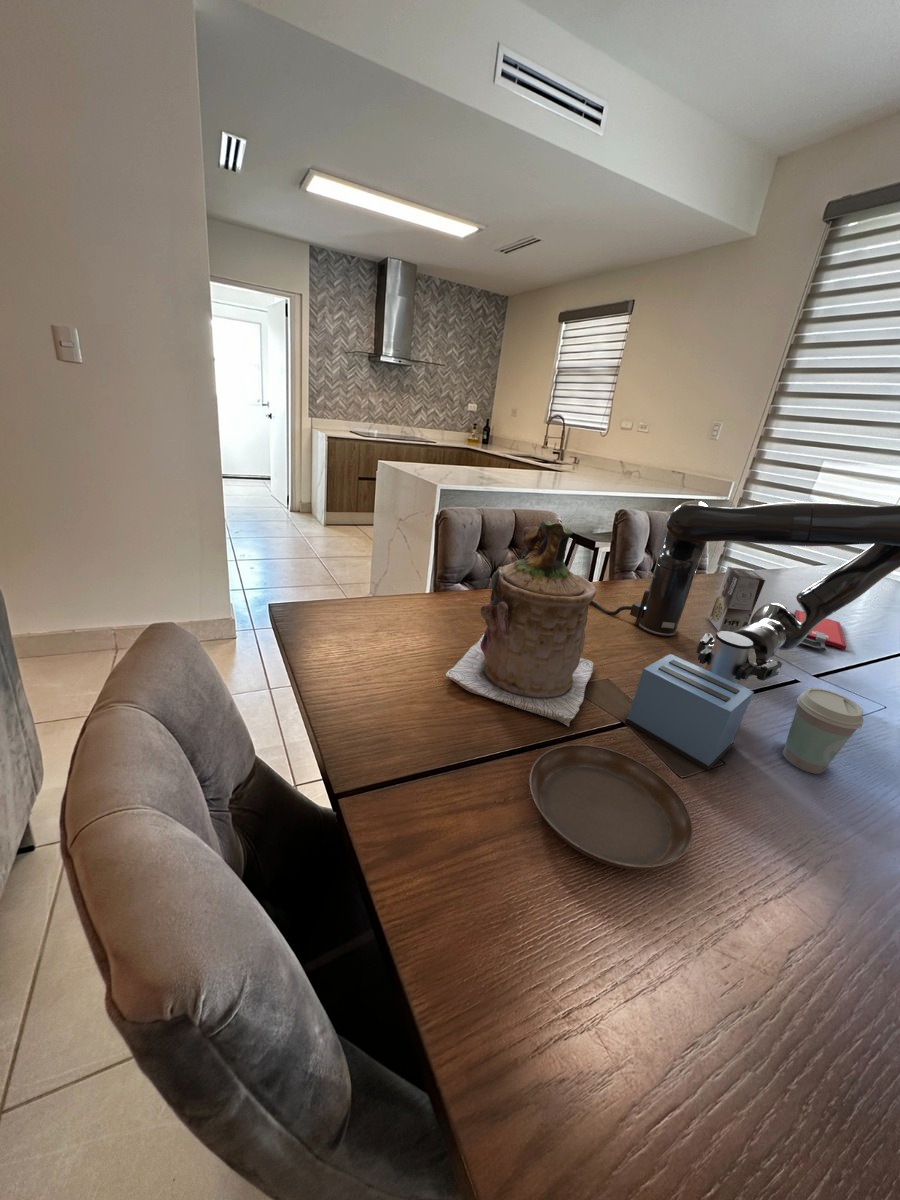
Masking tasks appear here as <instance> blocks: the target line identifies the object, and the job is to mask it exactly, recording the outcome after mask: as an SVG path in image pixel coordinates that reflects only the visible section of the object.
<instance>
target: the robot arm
mask: <svg viewBox="0 0 900 1200" xmlns="http://www.w3.org/2000/svg"><path fill="white" fill-rule="evenodd" d="M666 519H667V520H666V529H667V530H666V533H665V537H664V540H663V542H662V546H661V548H660V550H659V553H658V555H657V559H656V563H655V566H654V570H653V573H652V576H651V578H650V579H651V580H650V583H649V586H648V589H646V590H644V592H643V594H642V598H641V601H637V602H634V603H633V604H632V605H624V606H620V607H619V606H618V608H617V609H616V610H614V611H611V610H606V609H605V608H603V607H602V606H601V605H600V604H599V603H597V602H596V601H594V600H592V601H591V602H590V603H589V605H592V606H594V607H595V608H596V609H598V610H599V611H601V612H602V613H605V614H606V615H610V616H616V615H618V614H619V613H620V612H621V611H626V610H628V611H630V612H629V616H632V617H634V618H636V619H635V622H634V624H635V625H637V626H638V627H639V628H640V629H642V630H643V631H645V632H648V633H650V634H652V635H656V636H661V637H674V636H675V635H676V634H677V631H678V628H679V624H680V621H681V619H682V615H683V613H684V609H685V607H686V604H687V600H688V598H689V594H690V591H691V589H692V585H693V582H694V579H695V576H696V573H697V570H698V567H699V565H700V562H701V560H702V557H703V554H704V550H705V547H706V544H707V543H709V542H711V543H712V542H739V543H740V542H742V543H750V544H758V545H759V544H761V545H773V546H786V547H787V546H788V547H789V546H790V547H810V548H811V547H815V548H816V547H818V548H819V547H839V546H840V547H842V546H843V547H844V546H854V545H855V546H856V545H871V546H869V547H868V548H867V549H866V550H864V551H863V552H861V553H860V554H858V555H856V556H854V557H853V558H852V559H850V560H848V561H847V562H845V563H844V564H842V565H841V566H839V567H837V568H835V569H834V570H832V571H830V572H829V573H828V574H826V575H824V576H823V577H821V578H819V579H818V580H816V581H815V582H813V583H812V584H810V585H809V586H807V587H806V588H804V589H802V590H801V591H800V592H798V593H797V594H796V596H795V599H796V602H797V604H798V605H799V606H800V608H801V610H802V612H804V614H805V618H804V620H803V621H802V622H801V623H800V622H798V620H797V619H796V618H795V617H794V616H793V615H792V614H793V613H792V612H791V611H789V610H788V608H787V607H786V606H784V605H782V604H780V603H777V602H770V603H766V604H764V605H762V606H761V607H759V608H758V609H757V610H756V611H755V612H754V613H753V615H751V617H750V620H749V623H748V625H745V626H743V627H742V628H740V629H738V630H737V631H735V632H734V633H737V634H740V635H743V636H745V637H747V638H749V639H750V640H751V641H752V642H753V646H752V648H751V650H750V652H749V655H748V657H747V660H746V662H745V664H744V665H743V666H741V667H740V668H739V670H738V672H737V674H736V677H735V679H737V680H738V682H739V681H741V680H743V681H744V680H747V679H749V678H752V677H753V676H755V677H756V679H757V680H759V681H766V680H769V679H771V678H774V677H776V676H778V675H779V673H780V671H781V669H782V665H783V664H784V663H783V662H782V661H780V660H777V659H775V660H772V657H773V656H775V654H776V653H777V651H778V650H779V651H790V650H793V649H794V648H796V647H798V646H799V645H800V644H802V643H801V642H802V641H803V640H804V639H805V638H806V636H807V635H808V634H809V633H810V632H811V631H812V630H813V629H814V628H815V627H816V626H817V625H818V624H819V623H820V622H821V621H823V620H824V619H825V618H826V619H828V617H830V616H831V615H832V614H834V613H837V612H838V611H840V610H841V609H843V608H844V607H846V606H847V605H849V604H850V603H852V602H854V601H855V600H857V599H858V598H860V597H861V596H862V595H864V594H865V593H867V592H868V591H869V590H870V589H871V588H873V587H874V586H875V585H876V584H878V583H879V582H880V581H882V579H885V577H887V576H888V575H890V574H891V573H892V572H894V571H895V570H898V569H899V568H900V505H864V504H853V503H852V504H851V503H838V502H816V501H815V502H814V501H813V502H811V501H810V502H809V501H807V502H806V501H805V502H804V501H802V502H801V501H795V502H794V501H791V502H775V503H767V504H758V505H754V506H753V505H752V506H745V507H724V506H723V507H720V506H711V505H710V506H709V505H707V504H706V503H705V502H703V501H699V500H687V501H684V502H682V503H681V504H679V505H677V506H676V507H675V508H674V509H673V510H672V511H671V513H670V514H669V515H668V517H667V518H666ZM785 607H786V608H787V609H786V608H785ZM788 612H789V613H788ZM790 612H791V613H792V614H791V613H790ZM714 641H715V638H714V637H713V634H712V633H710V632H705V633H704V634H703V636H702V637H701V639H699V642H698V645H697V648H696V652H695V653H696V654H698V657H697V660H698V662H699V664H701V665H706V663H707V661H708V658H709V655H710V652H711V649H712V647H713V644H714ZM770 658H771V659H770ZM769 659H770V660H769Z"/></svg>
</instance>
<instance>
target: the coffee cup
mask: <svg viewBox="0 0 900 1200" xmlns="http://www.w3.org/2000/svg"><path fill="white" fill-rule="evenodd" d="M796 702H797V706H796V708H795V712H794V715H793V718H792V722H791V724H790V728H789V731H788V735H787V738H786V741H785V743H784V744H785V745H784V748H783V751H782V755H783V757H784V759H786V761H787V762H788V763H790V765H793V766H794V767H796V768H797V769H799V770H802V771H804V772H807V773H811V774H814V775H815V774H819V775H820V774H822V773H824V772H825V771H826V769H827V768H828V767H829V765H830V764H831V763H832V762H833V761H834V759H835V758H836V757H837V755H838V754H839V753H840V751H841V750H842V749H843V748H844V746H845V745H846V744H847V742H848V741H849V740H850V738H851V737H852V736H853V734H854V733H855V732H856V731H857V729H861V728H862V727H863V723H864V710H863V709H862V707H861V706H860V705H859V704H857V703H856V702H855V701H853V700H852V699H850V698H848V697H846V696H844V695H842V694H840V693H837V692H835V691H831V690H827V689H823V688H818V687H811V688H807V689H806V690H805V691H803V693H801V694H799V696H798V697H797V699H796Z"/></svg>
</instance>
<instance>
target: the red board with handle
mask: <svg viewBox="0 0 900 1200" xmlns="http://www.w3.org/2000/svg"><path fill="white" fill-rule="evenodd" d="M784 607H785V608H786V609H787V610H788V607H786V606H784ZM789 612H790V613H791V614H792V615H793V616H794V617H795V618H796V619H797V620H798V622H800V623H801V622H802V621H803V620H804V618H805V614H804V611H803V610H802V611H801V610H798V609H795V610H794V613H792V612H791V611H789ZM789 612H788V613H789ZM800 644H803V645H806V646H809V647H812V648H816V649H819V650H822V651H827V650H826V645H828V646H832V647H835V648H839V649H841V650H844V651H845V650H846V649H847V647H848V646H847V643H846V639H845V636H844V633H843V629H842V626H841V622H840V621H836V620H833V619H830V618H825V619H824V620H823V621H821V622H820V623H819V624H818V625H817V626H816V627H815V628H814V629H813V630H812V631H811V632H810V633H809V634H808V635H807V636H806V638H805V639H804V640H803V641H802V642H801V643H800Z"/></svg>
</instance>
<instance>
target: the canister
mask: <svg viewBox="0 0 900 1200" xmlns="http://www.w3.org/2000/svg"><path fill="white" fill-rule="evenodd" d="M714 639H715V641H714V644H713V647H712V649H711V652H710V655H709V658H708V661H707V662H706V663H705V666H704V669H705V670H707V671H709V672H712V673H714V674H716V675H718V676H720V677H723V678H725V679H727V680H729V681H731V682H734V683H736V684H738V683H739V680H737V679H735V677H736V674H737V672H738V670H739V668H740V667H741V666H743V665H744V664H745V662H746V660H747V657H748V655H749V652H750V650H751V648H752V646H753V642H752V641H751V640H750V639H749V638H747V637H745V636H743V635H740V634H737V633H734V632H729V631H717V632H716V634H715V638H714Z"/></svg>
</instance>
